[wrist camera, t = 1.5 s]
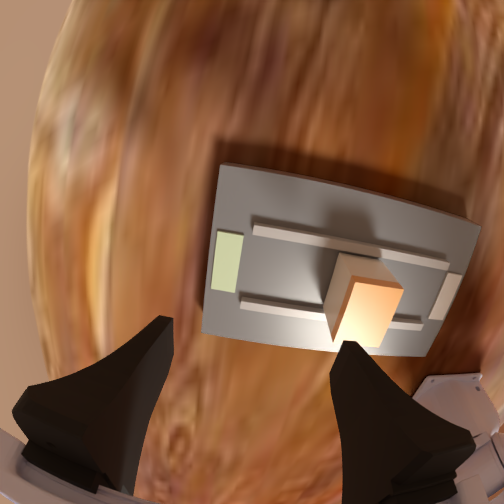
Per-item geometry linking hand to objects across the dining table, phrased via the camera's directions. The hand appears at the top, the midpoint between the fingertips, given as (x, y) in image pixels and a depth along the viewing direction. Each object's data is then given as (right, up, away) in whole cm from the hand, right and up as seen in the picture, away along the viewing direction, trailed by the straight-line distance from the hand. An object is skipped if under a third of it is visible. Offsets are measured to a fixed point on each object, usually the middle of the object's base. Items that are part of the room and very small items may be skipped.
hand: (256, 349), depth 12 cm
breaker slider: (+6, +2, +7) cm, 10 cm away
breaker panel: (+7, +3, +9) cm, 11 cm away
